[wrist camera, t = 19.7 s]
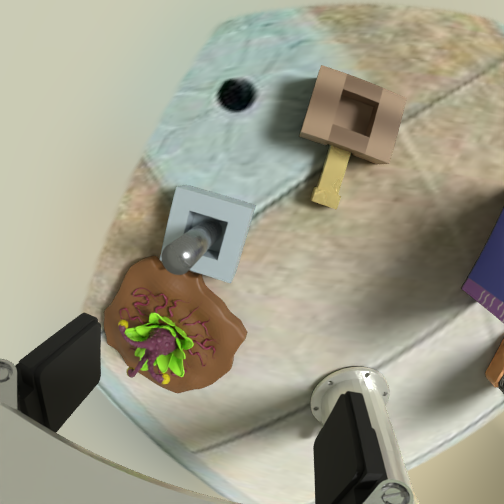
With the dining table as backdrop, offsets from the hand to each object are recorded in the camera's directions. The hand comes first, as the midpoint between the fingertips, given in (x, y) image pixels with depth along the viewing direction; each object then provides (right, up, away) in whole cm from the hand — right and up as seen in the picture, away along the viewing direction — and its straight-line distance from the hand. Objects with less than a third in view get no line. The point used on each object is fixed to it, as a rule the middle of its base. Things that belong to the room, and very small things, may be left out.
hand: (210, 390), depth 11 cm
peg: (-3, +8, +28) cm, 29 cm away
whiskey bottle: (+48, -13, +30) cm, 58 cm away
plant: (-10, -6, +34) cm, 36 cm away
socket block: (+13, +21, +24) cm, 34 cm away
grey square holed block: (-4, +8, +29) cm, 30 cm away
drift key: (+12, +16, +25) cm, 32 cm away
